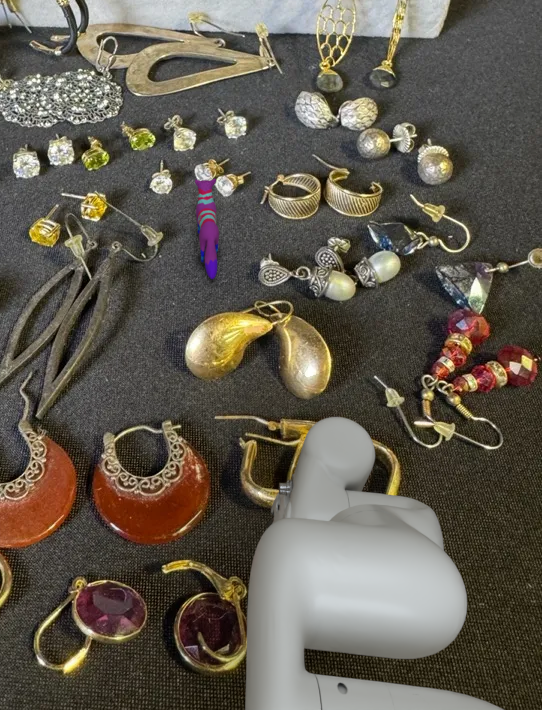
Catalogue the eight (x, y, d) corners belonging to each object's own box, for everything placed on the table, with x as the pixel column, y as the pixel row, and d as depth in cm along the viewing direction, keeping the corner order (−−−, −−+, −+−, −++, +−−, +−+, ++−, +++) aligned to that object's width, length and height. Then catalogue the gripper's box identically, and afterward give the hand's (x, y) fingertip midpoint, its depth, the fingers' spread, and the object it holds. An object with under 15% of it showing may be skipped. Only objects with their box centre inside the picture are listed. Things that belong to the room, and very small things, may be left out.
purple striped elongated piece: (211, 208, 150) (214, 168, 142) (222, 284, 138) (226, 245, 130) (191, 209, 150) (193, 169, 142) (201, 285, 138) (203, 246, 130)
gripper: (260, 521, 91) (246, 575, 105) (393, 526, 91) (361, 579, 105) (257, 459, 96) (244, 519, 110) (383, 463, 96) (354, 522, 110)
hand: (302, 548), depth 107 cm, fingers closed
